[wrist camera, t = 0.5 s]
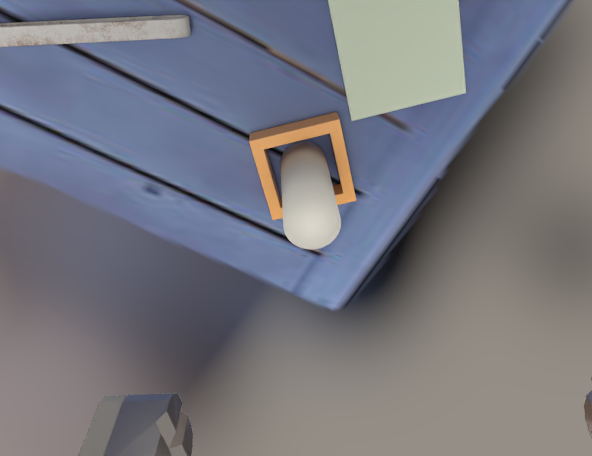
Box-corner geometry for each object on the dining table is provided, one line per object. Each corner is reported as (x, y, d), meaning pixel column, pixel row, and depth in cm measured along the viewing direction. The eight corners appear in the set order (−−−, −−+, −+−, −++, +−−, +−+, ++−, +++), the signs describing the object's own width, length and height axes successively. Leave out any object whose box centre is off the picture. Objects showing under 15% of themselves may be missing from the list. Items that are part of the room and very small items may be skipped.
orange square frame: (249, 133, 56) (249, 141, 54) (336, 111, 55) (339, 119, 53) (272, 209, 61) (272, 220, 58) (353, 190, 60) (356, 200, 58)
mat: (320, -35, 49) (321, -35, 48) (450, -70, 48) (452, -70, 47) (351, 119, 56) (351, 121, 55) (464, 91, 55) (466, 92, 54)
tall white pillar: (275, 147, 57) (276, 206, 45) (320, 136, 57) (334, 192, 44) (286, 188, 59) (291, 254, 47) (330, 177, 59) (346, 242, 47)
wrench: (191, 28, 54) (-132, 44, 50) (189, 9, 53) (-141, 24, 49) (190, 43, 47) (-186, 63, 43) (188, 21, 46) (-196, 39, 42)
